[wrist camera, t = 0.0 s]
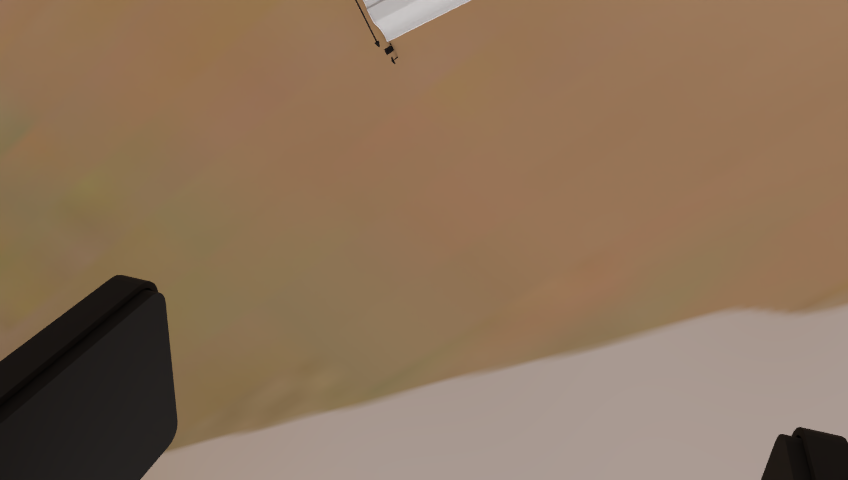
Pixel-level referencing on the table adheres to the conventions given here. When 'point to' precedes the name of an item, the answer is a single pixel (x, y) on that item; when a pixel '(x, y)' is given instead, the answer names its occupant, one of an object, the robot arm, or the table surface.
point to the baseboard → (404, 15)
